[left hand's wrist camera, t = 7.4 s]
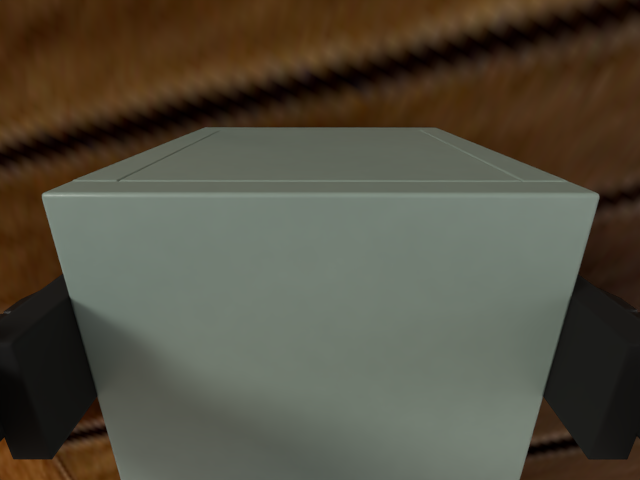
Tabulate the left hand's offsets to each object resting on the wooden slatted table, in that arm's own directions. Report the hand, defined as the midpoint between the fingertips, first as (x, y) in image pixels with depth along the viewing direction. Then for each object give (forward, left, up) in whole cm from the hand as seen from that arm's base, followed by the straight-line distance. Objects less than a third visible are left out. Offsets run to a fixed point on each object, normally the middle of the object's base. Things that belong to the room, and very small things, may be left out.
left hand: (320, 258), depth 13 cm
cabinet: (+1, +4, -6) cm, 8 cm away
